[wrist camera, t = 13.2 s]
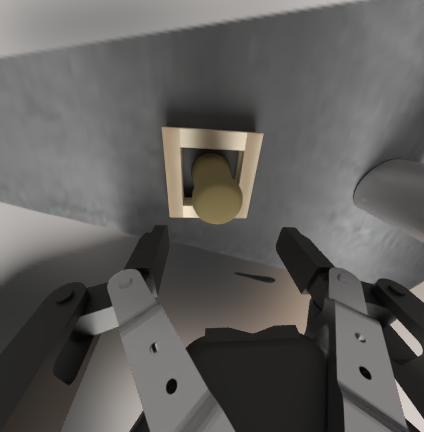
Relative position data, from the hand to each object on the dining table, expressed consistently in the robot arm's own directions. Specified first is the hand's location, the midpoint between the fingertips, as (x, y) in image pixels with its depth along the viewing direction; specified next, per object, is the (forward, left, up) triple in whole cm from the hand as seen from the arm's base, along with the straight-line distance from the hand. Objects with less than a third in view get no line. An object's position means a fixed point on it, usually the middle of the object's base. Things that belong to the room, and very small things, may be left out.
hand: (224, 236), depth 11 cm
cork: (0, 0, -15) cm, 15 cm away
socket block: (0, 0, -15) cm, 15 cm away
